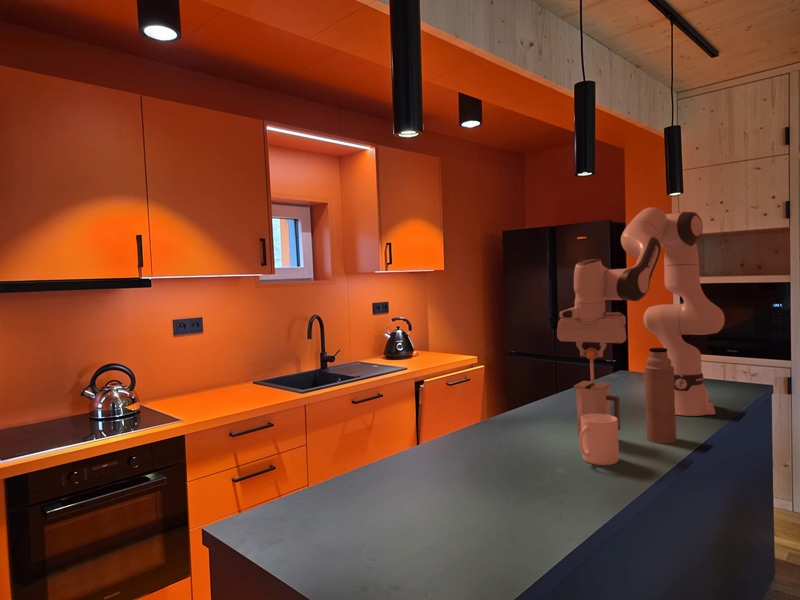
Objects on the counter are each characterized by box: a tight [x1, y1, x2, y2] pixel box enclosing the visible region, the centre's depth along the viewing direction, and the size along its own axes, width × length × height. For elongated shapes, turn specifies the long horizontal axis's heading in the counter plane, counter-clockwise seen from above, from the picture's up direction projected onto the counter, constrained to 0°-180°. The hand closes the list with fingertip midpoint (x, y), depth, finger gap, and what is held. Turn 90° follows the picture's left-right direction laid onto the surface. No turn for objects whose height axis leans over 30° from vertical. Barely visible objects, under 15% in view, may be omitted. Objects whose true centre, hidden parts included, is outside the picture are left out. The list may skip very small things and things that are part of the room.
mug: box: [579, 414, 620, 466], centre depth 141 cm, size 10×12×12 cm
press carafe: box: [573, 380, 621, 440], centre depth 159 cm, size 9×12×17 cm
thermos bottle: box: [644, 347, 677, 445], centre depth 156 cm, size 8×8×28 cm
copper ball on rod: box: [585, 347, 598, 387], centre depth 159 cm, size 7×7×18 cm
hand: (591, 356), depth 159 cm, fingers closed on copper ball on rod, 4 cm apart
